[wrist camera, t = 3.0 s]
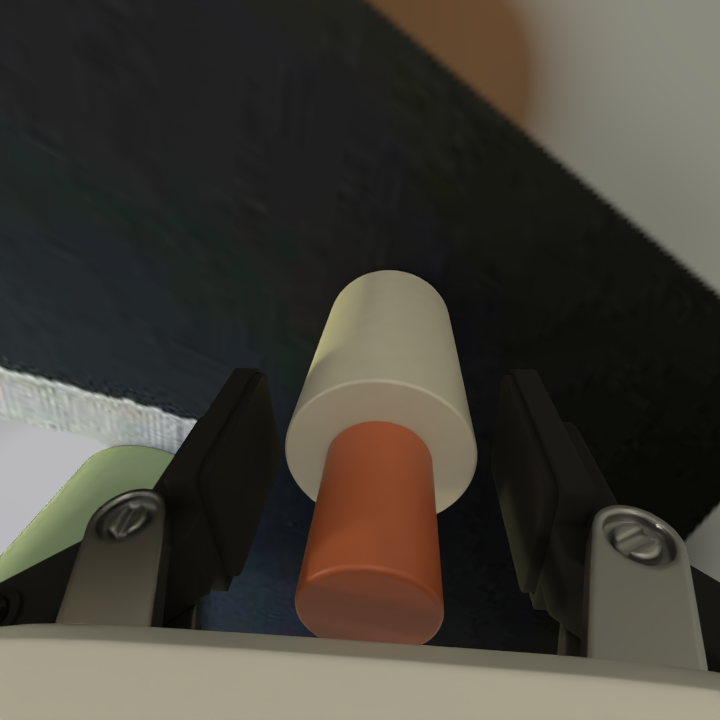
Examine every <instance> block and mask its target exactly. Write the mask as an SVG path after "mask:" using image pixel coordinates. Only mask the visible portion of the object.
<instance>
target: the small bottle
mask: <svg viewBox="0 0 720 720" xmlns="http://www.w3.org/2000/svg"><path fill="white" fill-rule="evenodd" d="M285 453H286V459H287V463H288V467H289V469H290V472H291V474H292V476H293V478H294V479H295V481H296V483H297V484H298V485H299V487H300V488H301V489H302V490H303V491H304V492H305V493H306V494H307V495H308V496H309V497H310V498H311V499H312V500H313V501H315V502H316V504H315V509H314V513H313V518H312V522H311V527H310V531H309V536H308V540H307V544H306V549H305V553H304V558H303V562H302V567H301V571H300V575H299V580H298V584H297V589H296V593H295V607H296V611H297V615H298V617H299V618H300V620H301V622H302V623H303V624H304V626H305V627H306V628H307V629H308V630H310V631H311V632H312V633H313V634H315V635H316V636H318V637H319V638H328V639H342V640H357V641H371V642H385V643H400V644H414V645H422V644H424V643H425V642H427V641H428V640H430V639H431V638H432V637H433V636H434V635H435V634H436V633H437V632H438V630H439V629H440V626H441V624H442V621H443V617H444V604H443V591H442V579H441V566H440V553H439V540H438V527H437V513H439V512H441V511H443V510H444V509H446V508H447V507H449V506H450V505H452V504H453V503H454V502H455V501H456V500H457V499H458V498H459V497H460V496H461V495H462V494H463V493H464V492H465V490H466V489H467V487H468V486H469V484H470V482H471V480H472V478H473V475H474V473H475V469H476V464H477V446H476V440H475V435H474V431H473V426H472V421H471V417H470V412H469V407H468V403H467V398H466V393H465V388H464V384H463V379H462V374H461V370H460V365H459V360H458V356H457V351H456V346H455V341H454V337H453V332H452V327H451V323H450V318H449V313H448V310H447V307H446V305H445V303H444V301H443V299H442V298H441V296H440V295H439V293H438V292H437V291H436V290H435V289H434V288H433V287H432V286H431V285H430V284H429V283H427V282H426V281H424V280H423V279H421V278H419V277H417V276H415V275H413V274H409V273H406V272H402V271H394V270H384V271H377V272H372V273H369V274H366V275H363V276H361V277H359V278H357V279H356V280H354V281H353V282H351V283H350V284H349V285H347V286H346V287H345V288H344V289H343V290H342V292H341V293H340V294H339V295H338V297H337V299H336V300H335V302H334V304H333V307H332V309H331V312H330V315H329V318H328V320H327V323H326V326H325V329H324V331H323V334H322V337H321V339H320V342H319V345H318V348H317V350H316V353H315V356H314V359H313V361H312V364H311V367H310V370H309V372H308V375H307V378H306V381H305V383H304V386H303V389H302V392H301V394H300V397H299V400H298V403H297V405H296V408H295V411H294V413H293V416H292V419H291V422H290V424H289V427H288V431H287V434H286V440H285Z"/></svg>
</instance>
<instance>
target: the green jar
mask: <svg viewBox="0 0 720 720" xmlns="http://www.w3.org/2000/svg"><path fill="white" fill-rule="evenodd" d="M174 456H175V455H173V454H171V453H168V452H165V451H162V450H158V449H154V448H149V447H143V446H118V447H112V448H108V449H105V450H102V451H100V452H98V453H96V454H94V455H93V456H92V457H90V458H89V459H88V460H87V461H86V462H85V463H84V464H83V465H82V466H81V467H80V468H79V470H78V471H77V472H76V473H75V474H74V475H73V476H72V477H71V478H70V479H69V481H68V482H67V483H66V484H65V485H64V486H63V487H62V488H61V489H60V490H59V492H58V493H57V494H56V495H55V496H54V497H53V498H52V499H51V500H50V502H49V503H48V504H47V505H46V506H45V507H44V508H43V509H42V510H41V511H40V513H39V514H38V515H37V516H36V517H35V518H34V519H33V520H32V521H31V523H30V524H29V525H28V526H27V527H26V528H25V529H24V530H23V531H22V532H21V534H20V535H19V536H18V537H17V538H16V539H15V540H14V541H13V542H12V544H11V545H10V546H9V547H8V548H7V549H6V550H5V551H4V553H3V554H2V555H1V556H0V582H2V581H4V580H6V579H8V578H10V577H12V576H14V575H16V574H18V573H20V572H22V571H23V570H25V569H27V568H29V567H31V566H33V565H35V564H37V563H39V562H41V561H43V560H45V559H47V558H49V557H51V556H52V555H54V554H56V553H58V552H60V551H62V550H64V549H66V548H68V547H70V546H72V545H74V544H76V543H78V542H80V541H81V540H82V539H83V536H84V533H85V530H86V527H87V524H88V522H89V520H90V518H91V516H92V515H93V514H94V513H95V512H96V511H97V509H98V508H99V507H100V506H102V505H103V504H104V503H106V502H107V501H108V500H110V499H111V498H113V497H115V496H117V495H119V494H121V493H124V492H127V491H130V490H134V489H142V488H145V489H153V487H154V486H155V484H156V483H157V481H158V480H159V478H160V477H161V475H162V474H163V472H164V471H165V469H166V468H167V466H168V465H169V463H170V462H171V460H172V459H173V457H174ZM202 601H203V598H202Z"/></svg>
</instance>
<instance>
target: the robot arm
mask: <svg viewBox="0 0 720 720" xmlns="http://www.w3.org/2000/svg"><path fill="white" fill-rule="evenodd" d="M280 459H281V451H280V445H279V440H278V434H277V429H276V423H275V418H274V412H273V407H272V401H271V396H270V390H269V385H268V379H267V376H266V374H260V371H259V369H258V368H236V369H235V370H234V371H233V372H232V374H231V375H230V377H229V379H228V380H227V382H226V383H225V385H224V386H223V388H222V389H221V391H220V392H219V394H218V395H217V397H216V398H215V400H214V402H213V403H212V405H211V406H210V408H209V409H208V411H207V412H206V414H205V415H204V416H203V417H201V418H200V419H199V420H198V421H197V423H196V424H195V426H194V427H193V429H192V430H191V432H190V433H189V435H188V436H187V438H186V439H185V441H184V442H183V444H182V445H181V447H180V448H179V450H178V451H177V453H176V454H175V456H174V457H173V459H172V460H171V462H170V463H169V465H168V466H167V468H166V469H165V471H164V472H163V474H162V475H161V477H160V478H159V480H158V481H157V483H156V484H155V486H154V487H153V489H145V488H142V489H134V490H130V491H127V492H124V493H121V494H119V495H117V496H115V497H113V498H111V499H110V500H108V501H107V502H106V503H104V504H103V505H102V506H100V507H99V508H98V509H97V511H96V512H95V513H94V514H93V515H92V516H91V518H90V520H89V522H88V524H87V527H86V530H85V533H84V536H83V539H82V540H81V541H80V542H78V543H76V544H74V545H72V546H70V547H68V548H66V549H64V550H62V551H60V552H58V553H56V554H54V555H52V556H51V557H49V558H47V559H45V560H43V561H41V562H39V563H37V564H35V565H33V566H31V567H29V568H27V569H25V570H23V571H22V572H20V573H18V574H16V575H14V576H12V577H10V578H8V579H6V580H4V581H2V582H0V720H720V582H718V581H716V580H715V579H713V578H711V577H710V576H708V575H706V574H704V573H703V572H701V571H699V570H698V569H696V568H694V567H693V566H691V565H690V563H689V557H688V552H687V549H686V547H685V544H684V541H683V540H682V539H681V537H680V536H679V535H678V533H677V532H676V531H675V530H674V529H673V528H672V527H671V526H670V525H668V524H667V523H666V522H665V521H664V520H662V519H660V518H659V517H657V516H655V515H653V514H652V513H650V512H647V511H644V510H642V509H639V508H636V507H631V506H625V505H618V503H617V501H616V499H615V497H614V495H613V494H612V492H611V490H610V488H609V486H608V484H607V483H606V481H605V479H604V477H603V475H602V473H601V471H600V470H599V468H598V466H597V464H596V462H595V460H594V458H593V457H592V455H591V453H590V451H589V449H588V447H587V445H586V444H585V442H584V440H583V438H582V436H581V434H580V432H579V431H578V429H577V427H576V426H575V424H573V423H571V422H562V421H561V419H560V417H559V415H558V413H557V411H556V409H555V407H554V405H553V403H552V401H551V399H550V397H549V395H548V393H547V391H546V389H545V387H544V385H543V383H542V381H541V379H540V377H539V375H538V373H537V371H536V370H518V369H512V370H511V371H510V374H509V375H503V376H502V379H501V386H500V393H499V400H498V408H497V415H496V422H495V430H494V437H493V445H492V452H491V470H492V474H493V478H494V482H495V487H496V491H497V495H498V499H499V503H500V507H501V512H502V516H503V520H504V524H505V528H506V532H507V537H508V541H509V545H510V549H511V553H512V557H513V562H514V566H515V570H516V574H517V578H518V582H519V586H520V589H521V591H522V592H529V593H530V597H531V601H532V605H533V609H538V610H548V614H549V615H550V616H552V617H553V618H554V619H555V620H557V621H558V622H559V623H560V632H559V643H558V654H557V655H549V654H536V653H522V652H509V651H495V650H482V649H468V648H455V647H442V646H428V645H414V644H400V643H385V642H371V641H357V640H342V639H328V638H313V637H298V636H284V635H269V634H253V633H237V632H222V631H206V630H201V621H202V598H204V597H205V596H207V595H208V594H209V593H210V591H211V590H217V591H228V590H229V587H230V584H231V581H232V579H233V576H239V575H240V574H241V572H242V570H243V567H244V564H245V561H246V558H247V556H248V553H249V550H250V547H251V544H252V541H253V539H254V536H255V533H256V530H257V527H258V524H259V521H260V519H261V516H262V513H263V510H264V507H265V504H266V502H267V499H268V496H269V493H270V490H271V487H272V484H273V482H274V479H275V476H276V473H277V470H278V467H279V464H280Z"/></svg>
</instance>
